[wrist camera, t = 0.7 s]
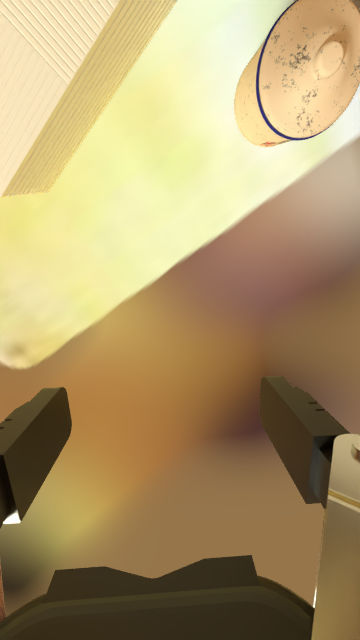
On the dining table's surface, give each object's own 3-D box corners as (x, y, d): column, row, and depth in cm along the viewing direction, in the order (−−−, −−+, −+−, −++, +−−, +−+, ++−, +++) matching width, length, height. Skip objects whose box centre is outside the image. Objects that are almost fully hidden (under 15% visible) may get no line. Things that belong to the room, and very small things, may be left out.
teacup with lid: (256, 167, 31) (302, 161, 21) (215, 93, 27) (248, 41, 17) (346, 89, 28) (451, 38, 18) (314, -8, 24) (425, -144, 14)
